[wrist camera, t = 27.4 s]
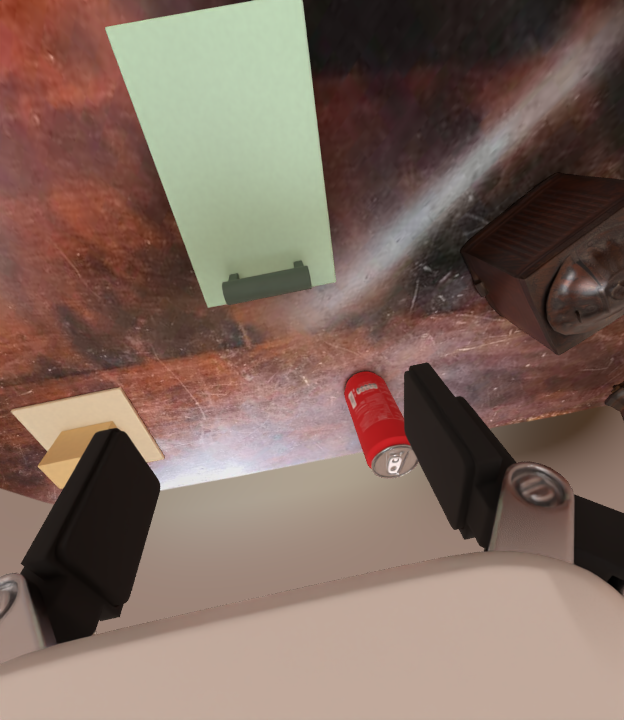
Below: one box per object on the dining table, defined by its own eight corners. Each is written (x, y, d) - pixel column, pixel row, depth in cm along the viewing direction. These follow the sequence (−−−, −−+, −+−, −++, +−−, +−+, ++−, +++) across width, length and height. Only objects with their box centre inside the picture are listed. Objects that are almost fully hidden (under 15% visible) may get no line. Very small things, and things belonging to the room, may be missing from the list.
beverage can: (385, 367, 40) (427, 441, 30) (380, 400, 43) (416, 477, 33) (344, 369, 39) (372, 446, 29) (341, 402, 42) (366, 482, 32)
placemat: (73, 476, 43) (72, 478, 43) (12, 409, 36) (10, 411, 36) (164, 456, 43) (164, 459, 43) (121, 386, 36) (119, 388, 36)
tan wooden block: (80, 453, 40) (59, 489, 36) (61, 431, 38) (37, 466, 34) (128, 443, 41) (113, 477, 36) (112, 420, 38) (94, 454, 34)
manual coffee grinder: (451, 252, 33) (610, 341, 18) (556, 168, 30) (849, 192, 15) (507, 345, 41) (651, 462, 26) (595, 285, 38) (816, 379, 23)
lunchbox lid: (334, 279, 27) (346, 301, 24) (209, 304, 27) (200, 330, 23) (300, -4, 18) (311, -42, 14) (109, 30, 18) (69, 0, 14)
